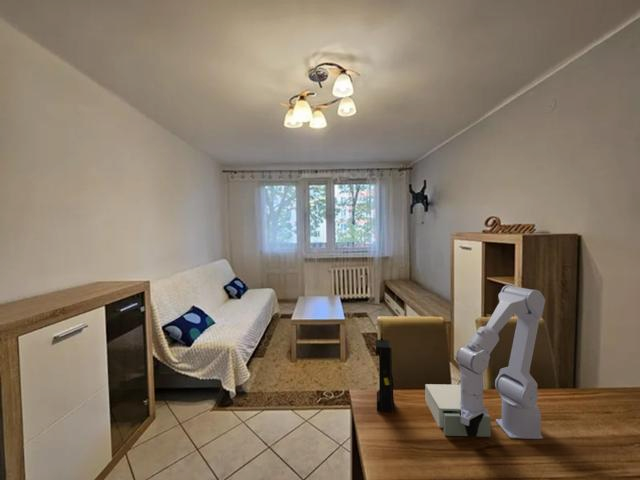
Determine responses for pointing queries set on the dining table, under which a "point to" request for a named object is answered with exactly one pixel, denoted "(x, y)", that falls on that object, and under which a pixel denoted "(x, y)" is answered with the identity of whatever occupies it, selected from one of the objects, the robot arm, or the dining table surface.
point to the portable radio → (385, 376)
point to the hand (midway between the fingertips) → (471, 436)
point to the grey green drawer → (458, 429)
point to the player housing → (442, 399)
